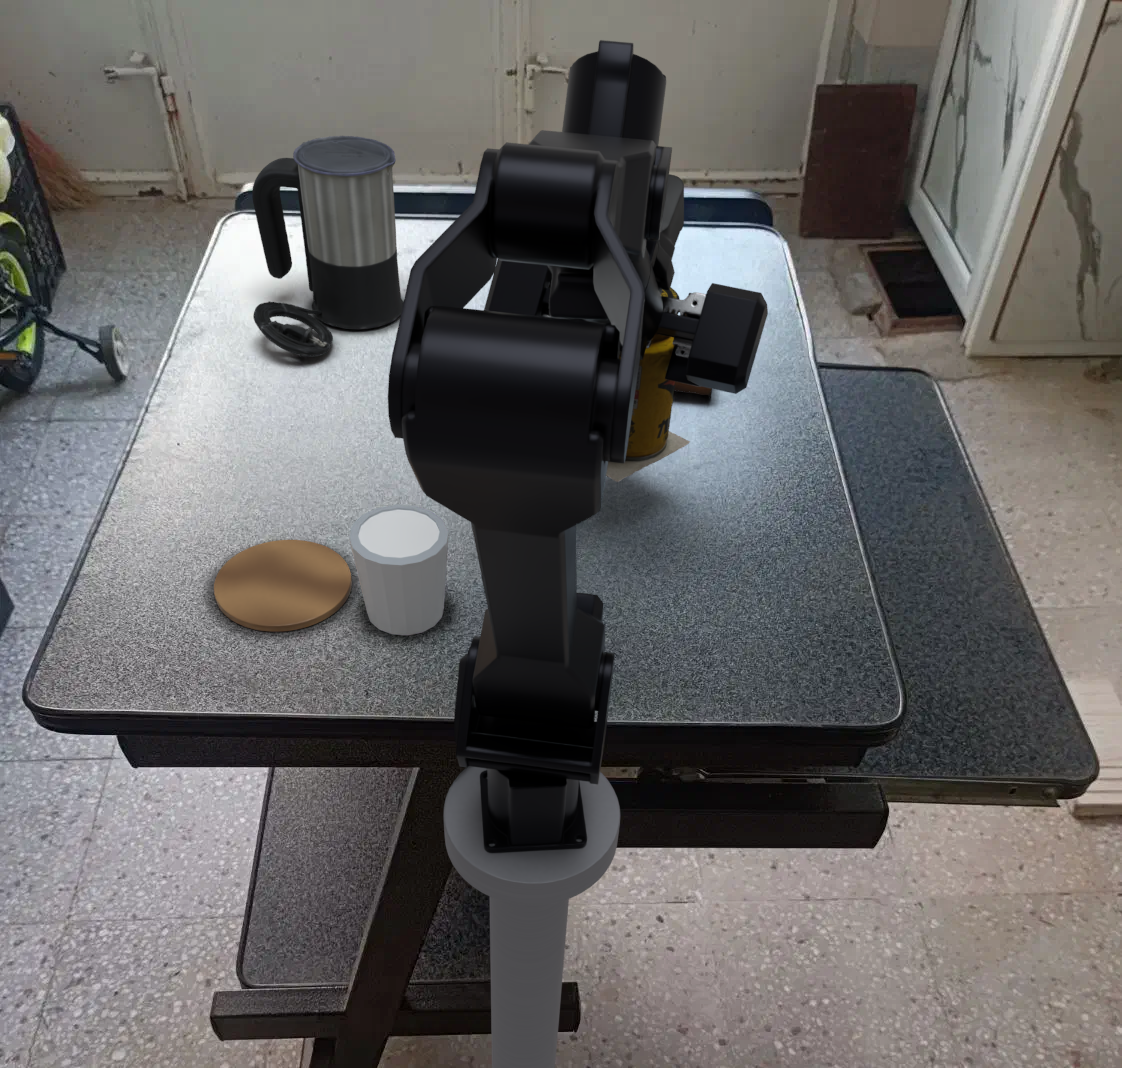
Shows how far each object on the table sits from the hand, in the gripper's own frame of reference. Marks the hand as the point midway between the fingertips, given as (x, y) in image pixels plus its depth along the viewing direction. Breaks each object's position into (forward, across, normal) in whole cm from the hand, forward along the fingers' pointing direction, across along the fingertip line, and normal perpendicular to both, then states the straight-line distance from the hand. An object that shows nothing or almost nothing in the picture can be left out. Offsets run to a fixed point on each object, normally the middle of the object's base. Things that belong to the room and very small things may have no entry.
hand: (640, 358), depth 82 cm
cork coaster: (-7, +20, +24) cm, 32 cm away
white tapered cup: (-6, +10, +23) cm, 26 cm away
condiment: (+4, 0, +6) cm, 7 cm away
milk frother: (+19, +35, -2) cm, 40 cm away
